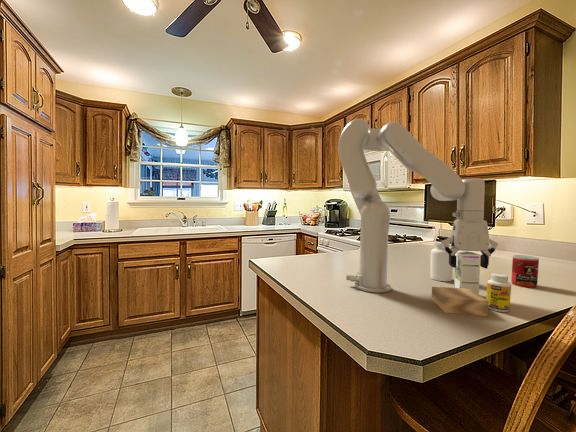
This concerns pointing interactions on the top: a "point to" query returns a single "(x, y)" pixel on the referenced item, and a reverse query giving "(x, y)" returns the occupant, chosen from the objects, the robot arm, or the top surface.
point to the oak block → (460, 301)
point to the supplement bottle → (498, 292)
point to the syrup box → (467, 271)
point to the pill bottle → (440, 264)
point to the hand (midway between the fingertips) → (468, 267)
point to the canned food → (525, 271)
